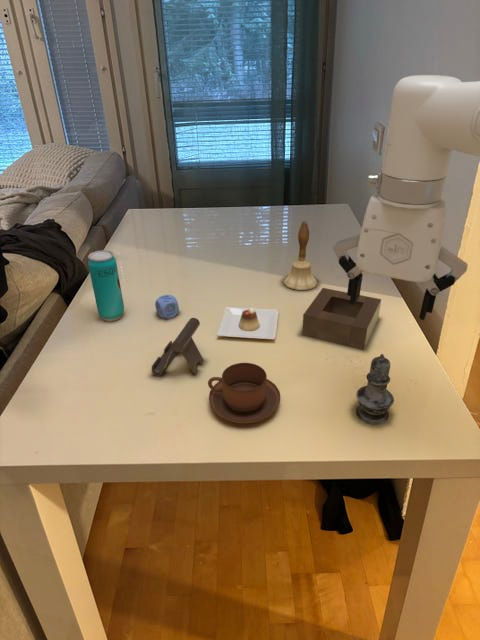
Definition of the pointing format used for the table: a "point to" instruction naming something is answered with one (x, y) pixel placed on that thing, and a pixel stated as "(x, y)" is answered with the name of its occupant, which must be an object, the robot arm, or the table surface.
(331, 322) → the holder
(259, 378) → the cup and saucer
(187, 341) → the tablet stand
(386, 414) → the chess piece
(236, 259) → the table surface
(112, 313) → the beverage can
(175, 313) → the decorative dice
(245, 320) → the dessert
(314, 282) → the hand bell
